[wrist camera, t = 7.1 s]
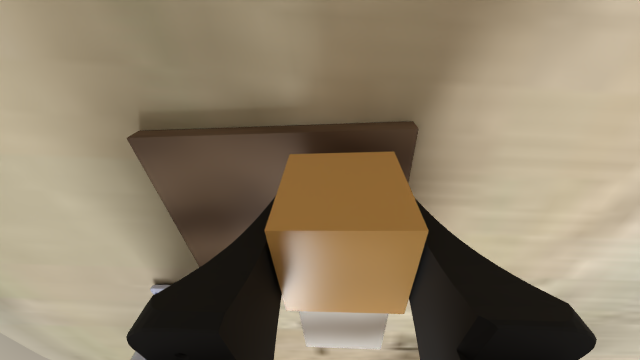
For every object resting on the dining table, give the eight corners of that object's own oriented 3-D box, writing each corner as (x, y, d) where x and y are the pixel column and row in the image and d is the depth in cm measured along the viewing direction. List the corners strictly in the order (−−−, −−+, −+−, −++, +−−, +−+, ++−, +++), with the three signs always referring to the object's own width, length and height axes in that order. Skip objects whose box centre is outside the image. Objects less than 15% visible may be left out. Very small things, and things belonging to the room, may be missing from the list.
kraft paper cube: (383, 226, 14) (404, 313, 10) (300, 226, 14) (286, 311, 10) (394, 151, 11) (428, 230, 7) (289, 153, 11) (264, 230, 7)
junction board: (386, 273, 21) (402, 353, 16) (212, 271, 22) (177, 344, 17) (413, 121, 13) (461, 186, 8) (138, 130, 14) (33, 192, 9)
